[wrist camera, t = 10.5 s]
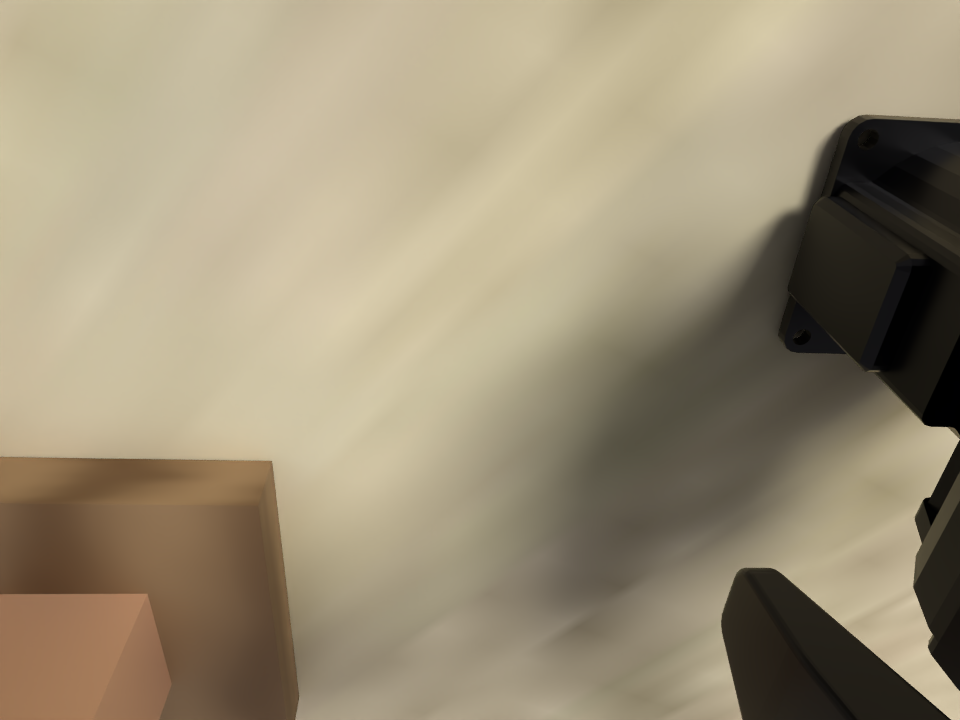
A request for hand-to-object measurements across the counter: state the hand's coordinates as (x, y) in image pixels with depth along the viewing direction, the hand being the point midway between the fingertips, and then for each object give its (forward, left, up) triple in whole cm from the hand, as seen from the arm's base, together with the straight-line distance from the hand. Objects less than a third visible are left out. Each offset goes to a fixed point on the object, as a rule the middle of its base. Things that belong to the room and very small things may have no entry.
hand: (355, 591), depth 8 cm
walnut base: (+10, +14, -12) cm, 21 cm away
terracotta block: (+10, +14, -10) cm, 20 cm away
